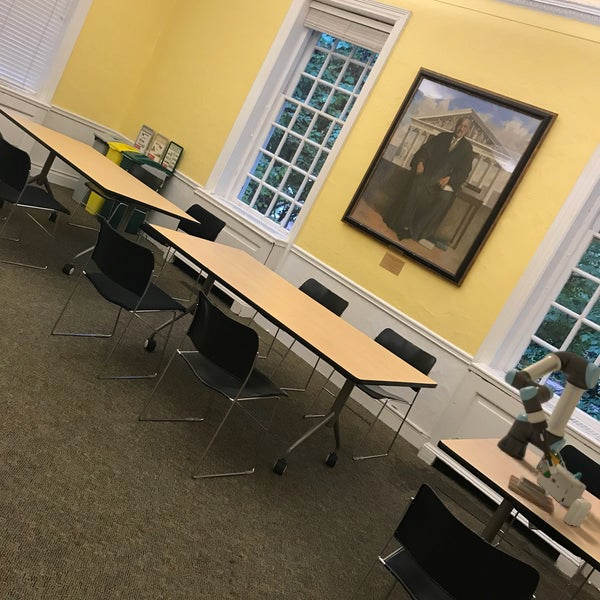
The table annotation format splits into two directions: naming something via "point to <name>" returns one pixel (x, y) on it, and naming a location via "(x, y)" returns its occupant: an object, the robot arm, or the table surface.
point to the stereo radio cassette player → (562, 485)
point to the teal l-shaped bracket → (571, 473)
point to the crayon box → (543, 465)
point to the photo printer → (577, 512)
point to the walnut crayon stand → (531, 492)
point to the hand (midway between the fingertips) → (553, 470)
